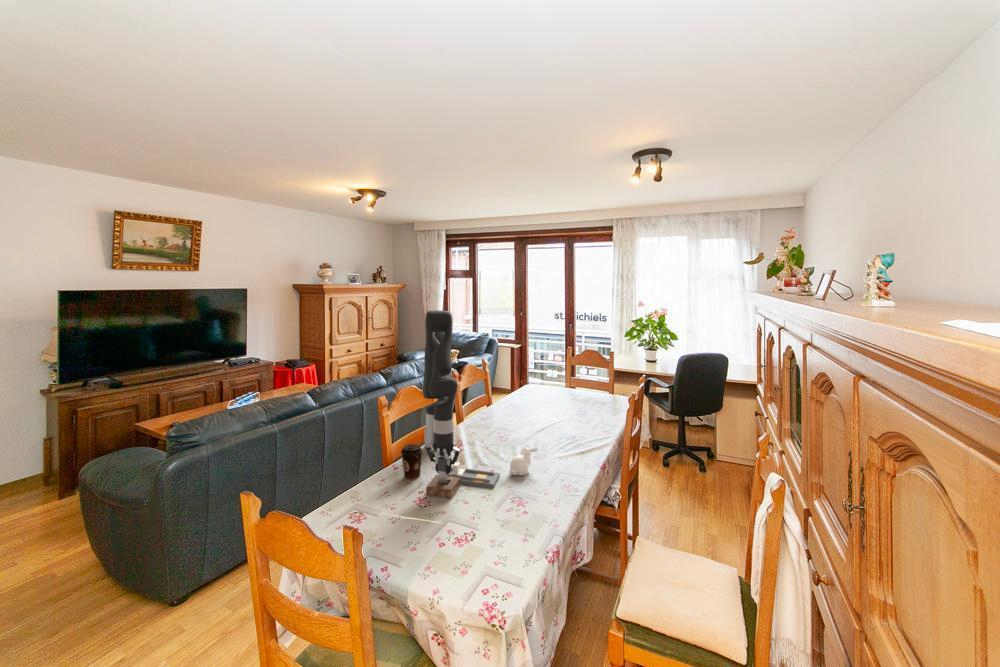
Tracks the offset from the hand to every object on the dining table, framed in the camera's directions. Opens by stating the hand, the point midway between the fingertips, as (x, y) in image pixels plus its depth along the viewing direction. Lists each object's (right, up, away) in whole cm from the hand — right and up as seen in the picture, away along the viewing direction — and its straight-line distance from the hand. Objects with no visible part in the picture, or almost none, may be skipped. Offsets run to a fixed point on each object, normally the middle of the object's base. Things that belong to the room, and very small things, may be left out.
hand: (443, 472), depth 164 cm
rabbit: (+31, -6, +19) cm, 37 cm away
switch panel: (+10, -6, +11) cm, 16 cm away
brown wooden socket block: (0, -8, +1) cm, 8 cm away
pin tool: (0, -6, +1) cm, 6 cm away
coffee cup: (-15, -6, +13) cm, 20 cm away
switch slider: (+5, -4, +12) cm, 13 cm away
